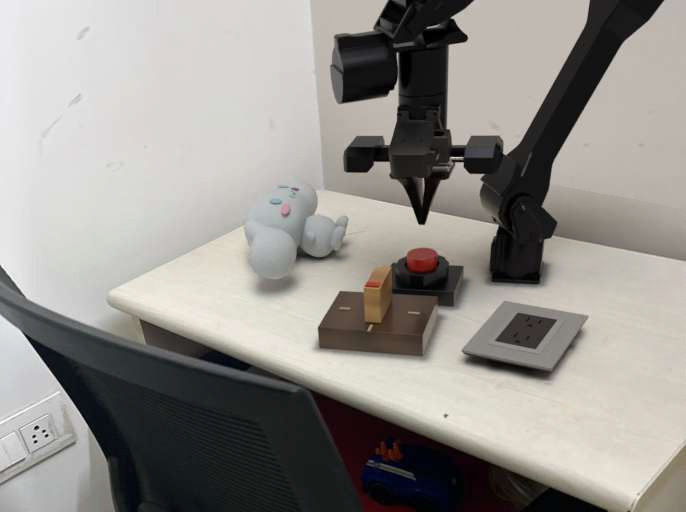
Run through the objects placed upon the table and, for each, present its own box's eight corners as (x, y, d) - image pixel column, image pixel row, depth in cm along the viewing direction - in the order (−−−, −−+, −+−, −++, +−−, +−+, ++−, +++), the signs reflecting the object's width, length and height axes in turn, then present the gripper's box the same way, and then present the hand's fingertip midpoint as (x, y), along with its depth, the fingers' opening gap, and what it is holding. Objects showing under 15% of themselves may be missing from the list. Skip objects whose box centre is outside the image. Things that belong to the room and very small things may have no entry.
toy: (341, 259, 102) (237, 208, 100) (310, 323, 108) (212, 277, 106) (361, 191, 126) (276, 149, 123) (334, 247, 132) (254, 207, 130)
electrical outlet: (549, 385, 86) (551, 366, 84) (461, 365, 90) (461, 347, 89) (585, 331, 94) (588, 313, 92) (502, 315, 98) (504, 298, 97)
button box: (463, 280, 107) (464, 252, 104) (453, 307, 101) (454, 278, 99) (392, 277, 110) (391, 249, 107) (379, 303, 104) (378, 275, 101)
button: (439, 260, 104) (439, 248, 103) (434, 273, 101) (434, 260, 100) (410, 259, 105) (410, 246, 104) (404, 272, 102) (403, 259, 101)
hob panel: (438, 317, 100) (438, 294, 97) (422, 357, 92) (422, 334, 90) (341, 311, 103) (339, 289, 101) (319, 349, 96) (317, 326, 94)
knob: (377, 299, 98) (375, 264, 95) (392, 300, 98) (391, 264, 95) (364, 322, 94) (363, 285, 91) (380, 323, 93) (379, 286, 90)
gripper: (325, 111, 86) (335, 246, 96) (495, 109, 81) (487, 252, 91) (352, 85, 94) (358, 213, 104) (508, 82, 89) (499, 216, 99)
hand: (422, 223), depth 99 cm, fingers closed
